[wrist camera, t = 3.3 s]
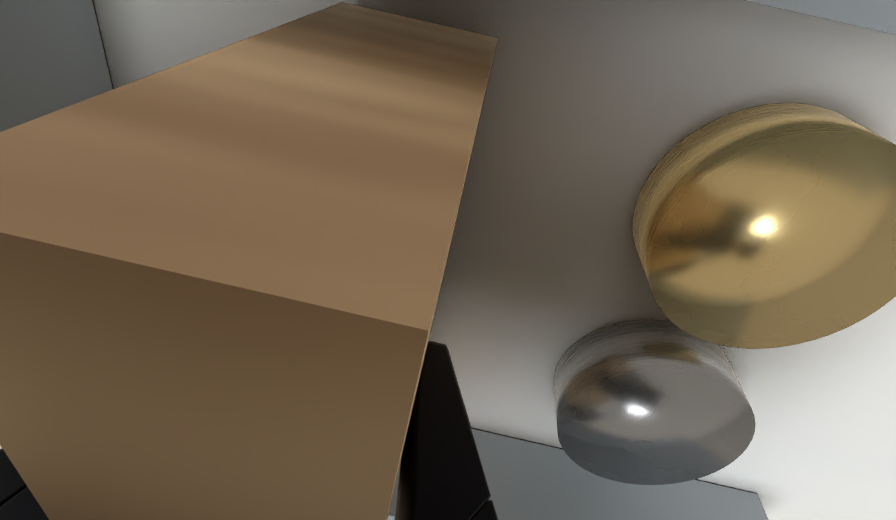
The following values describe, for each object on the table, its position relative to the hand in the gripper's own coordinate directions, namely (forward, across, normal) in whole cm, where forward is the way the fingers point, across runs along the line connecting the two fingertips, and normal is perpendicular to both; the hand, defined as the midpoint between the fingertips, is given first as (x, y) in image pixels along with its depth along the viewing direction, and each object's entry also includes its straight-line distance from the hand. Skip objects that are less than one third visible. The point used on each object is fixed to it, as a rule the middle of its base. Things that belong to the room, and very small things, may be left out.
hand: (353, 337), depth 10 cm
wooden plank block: (+3, 0, 0) cm, 3 cm away
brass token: (+4, -8, -3) cm, 9 cm away
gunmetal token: (+4, -8, +3) cm, 9 cm away
